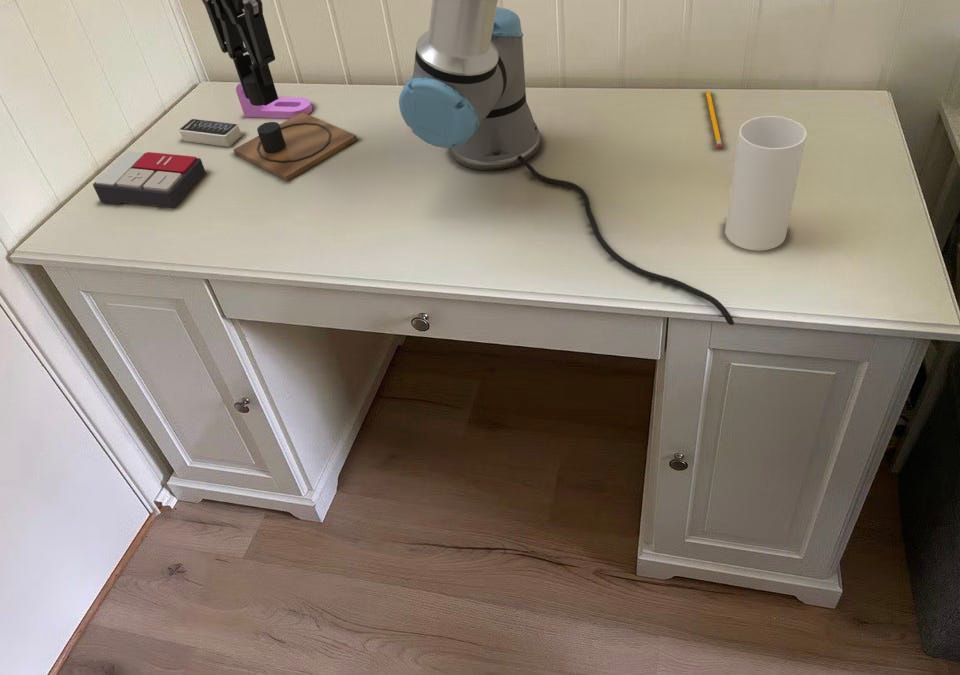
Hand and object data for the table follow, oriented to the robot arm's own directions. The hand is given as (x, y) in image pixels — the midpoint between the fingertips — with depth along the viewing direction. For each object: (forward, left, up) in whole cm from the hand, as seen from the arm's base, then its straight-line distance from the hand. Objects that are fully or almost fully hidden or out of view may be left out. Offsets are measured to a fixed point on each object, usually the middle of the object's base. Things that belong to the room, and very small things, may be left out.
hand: (262, 98), depth 130 cm
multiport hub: (+19, +2, -13) cm, 23 cm away
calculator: (+13, +18, -13) cm, 26 cm away
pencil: (-55, -52, -13) cm, 76 cm away
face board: (+2, -5, -12) cm, 14 cm away
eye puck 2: (+4, -2, -11) cm, 12 cm away
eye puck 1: (0, 0, 0) cm, 0 cm away
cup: (-76, -28, -13) cm, 82 cm away
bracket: (+16, -12, -13) cm, 24 cm away
